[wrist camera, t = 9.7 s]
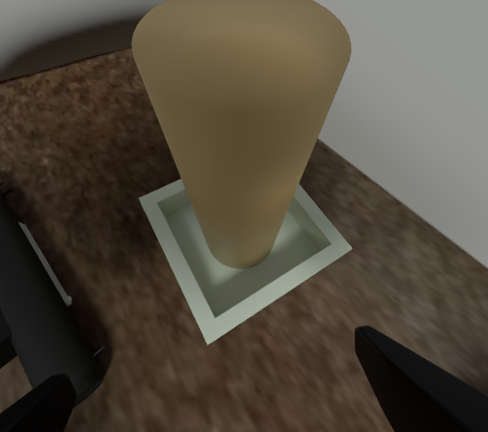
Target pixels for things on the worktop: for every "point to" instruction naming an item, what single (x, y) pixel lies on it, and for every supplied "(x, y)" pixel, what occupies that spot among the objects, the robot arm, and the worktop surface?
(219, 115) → the tan rounded cylinder
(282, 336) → the worktop surface
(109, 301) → the worktop surface
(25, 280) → the door handle
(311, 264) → the tray
